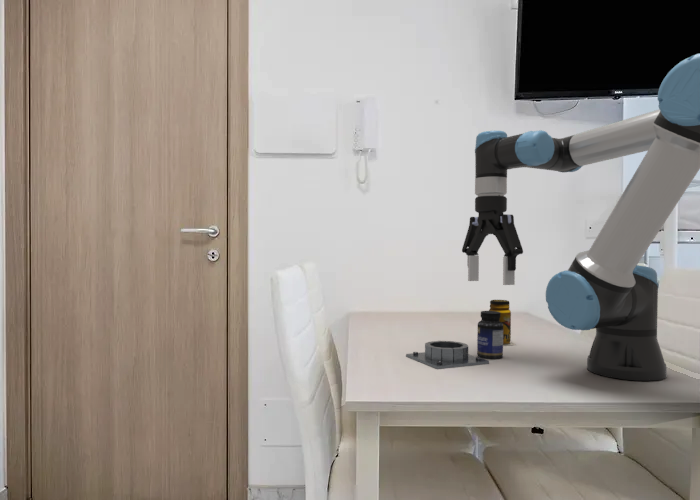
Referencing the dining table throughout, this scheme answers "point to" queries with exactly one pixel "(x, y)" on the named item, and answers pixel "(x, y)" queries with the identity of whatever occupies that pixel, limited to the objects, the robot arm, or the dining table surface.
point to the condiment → (503, 318)
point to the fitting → (446, 355)
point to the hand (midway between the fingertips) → (490, 282)
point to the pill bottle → (490, 336)
